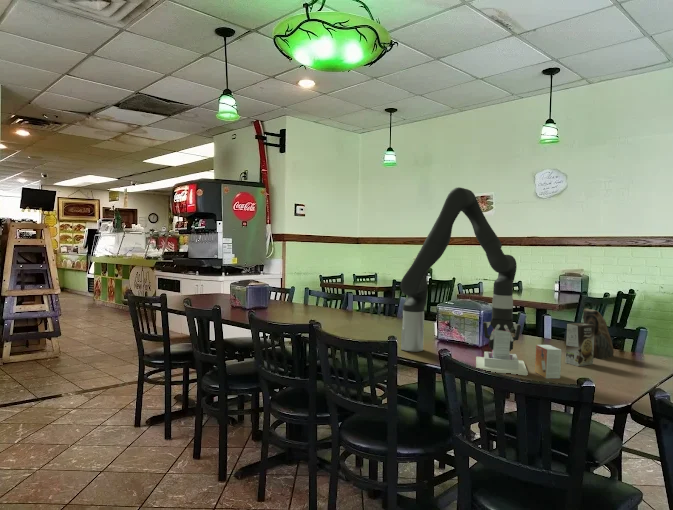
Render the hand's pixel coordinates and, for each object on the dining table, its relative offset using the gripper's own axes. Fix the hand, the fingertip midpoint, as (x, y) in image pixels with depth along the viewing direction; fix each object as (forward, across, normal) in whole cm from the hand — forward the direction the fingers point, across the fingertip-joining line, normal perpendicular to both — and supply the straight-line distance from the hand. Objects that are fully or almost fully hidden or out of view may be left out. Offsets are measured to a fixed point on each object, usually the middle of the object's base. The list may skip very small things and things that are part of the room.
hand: (500, 349), depth 186 cm
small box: (+7, +16, -6) cm, 18 cm away
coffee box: (+7, +31, +18) cm, 37 cm away
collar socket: (+7, 0, 0) cm, 7 cm away
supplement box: (+4, 0, 0) cm, 4 cm away
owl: (+7, +42, +37) cm, 56 cm away
